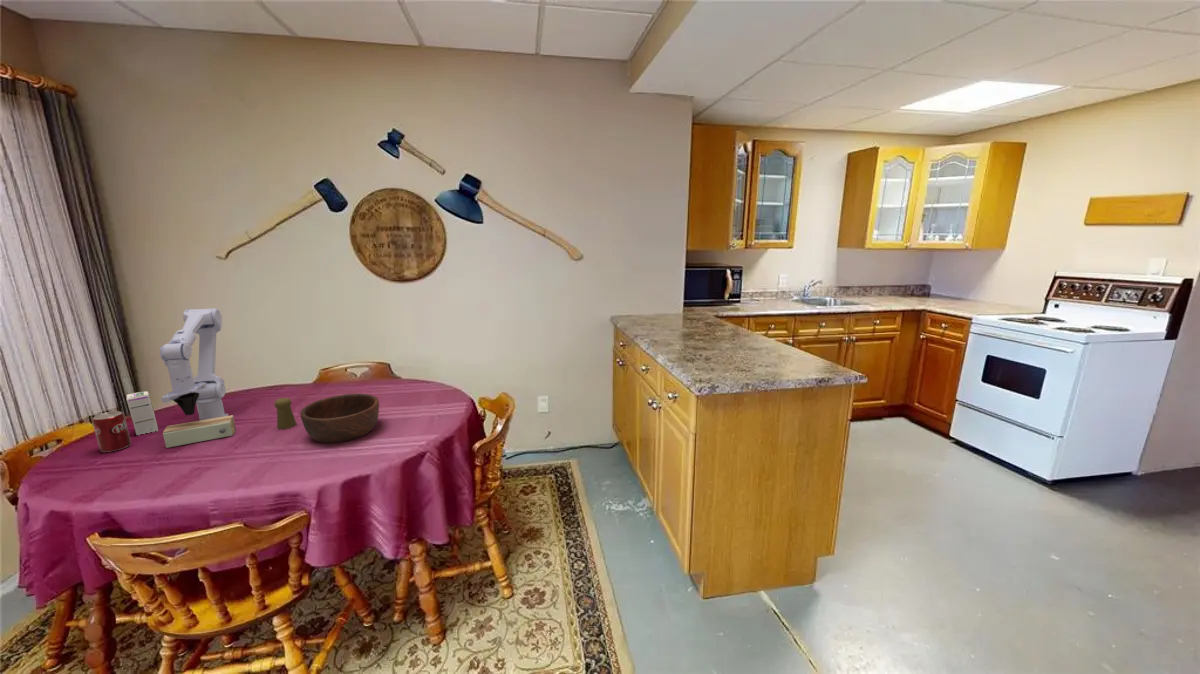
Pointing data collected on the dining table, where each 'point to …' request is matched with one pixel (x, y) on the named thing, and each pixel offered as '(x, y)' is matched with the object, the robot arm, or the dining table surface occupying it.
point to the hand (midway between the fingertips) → (189, 414)
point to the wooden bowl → (340, 417)
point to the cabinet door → (197, 434)
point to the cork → (284, 414)
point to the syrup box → (142, 412)
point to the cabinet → (202, 424)
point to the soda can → (111, 431)
